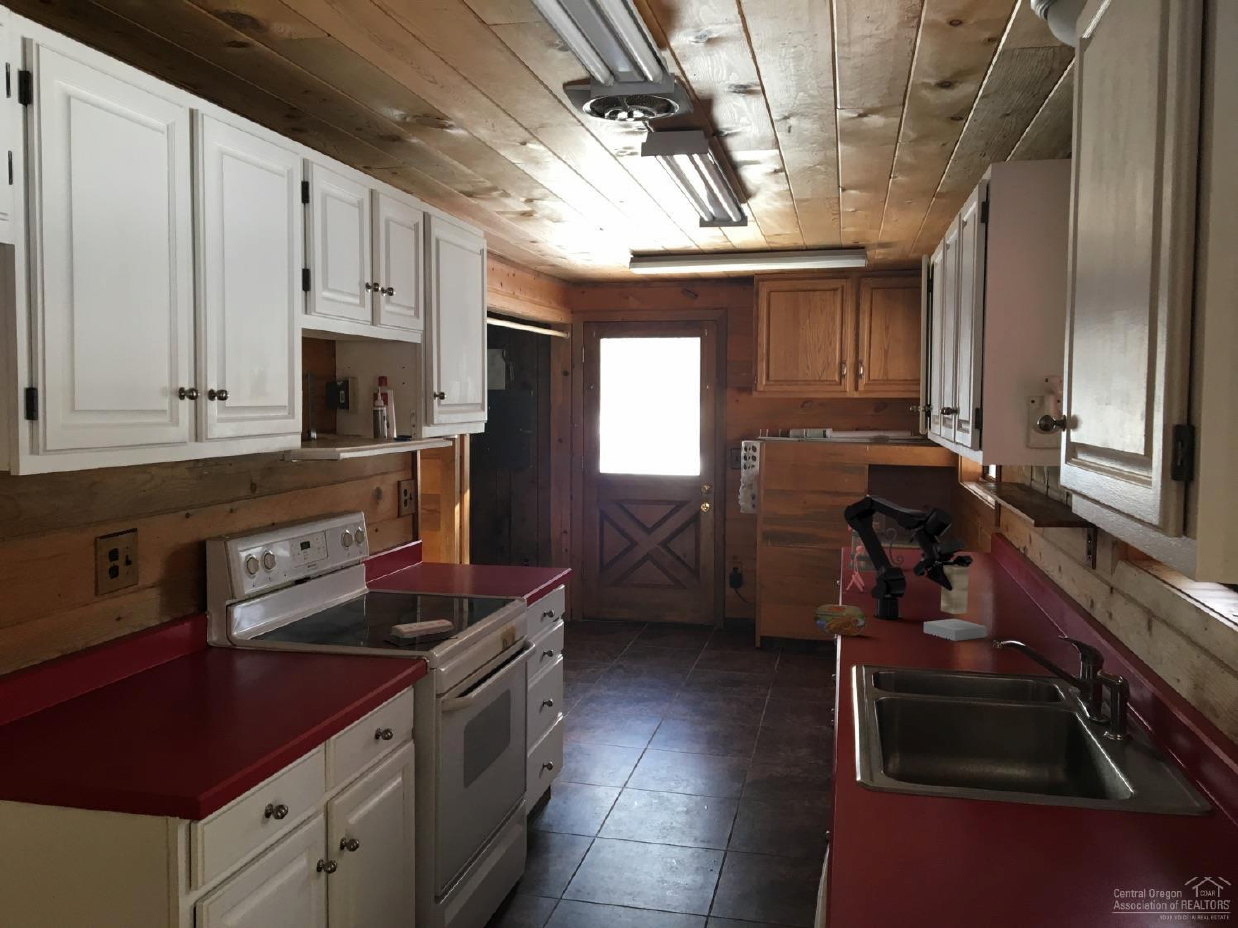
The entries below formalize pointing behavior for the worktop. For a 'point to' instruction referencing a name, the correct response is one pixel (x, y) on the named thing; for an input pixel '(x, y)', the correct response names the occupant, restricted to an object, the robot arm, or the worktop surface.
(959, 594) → the birch block
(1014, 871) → the worktop surface
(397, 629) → the packaged product
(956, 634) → the plinth
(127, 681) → the worktop surface
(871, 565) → the tankard
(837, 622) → the tin
